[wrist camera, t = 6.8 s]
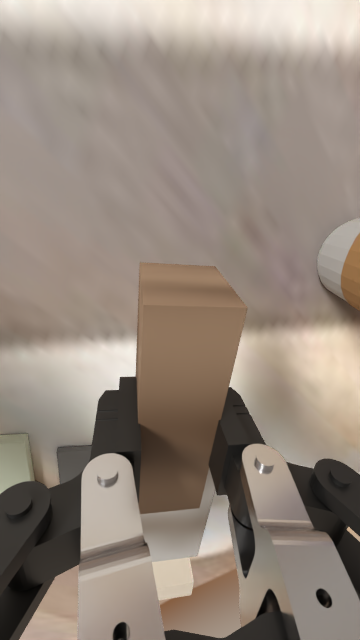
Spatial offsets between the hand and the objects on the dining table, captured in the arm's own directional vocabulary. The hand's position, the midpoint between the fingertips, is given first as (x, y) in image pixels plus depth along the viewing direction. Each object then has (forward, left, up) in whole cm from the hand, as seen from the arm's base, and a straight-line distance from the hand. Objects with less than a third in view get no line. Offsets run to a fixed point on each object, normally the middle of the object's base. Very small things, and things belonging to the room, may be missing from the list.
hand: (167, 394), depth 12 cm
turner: (0, -4, -1) cm, 4 cm away
